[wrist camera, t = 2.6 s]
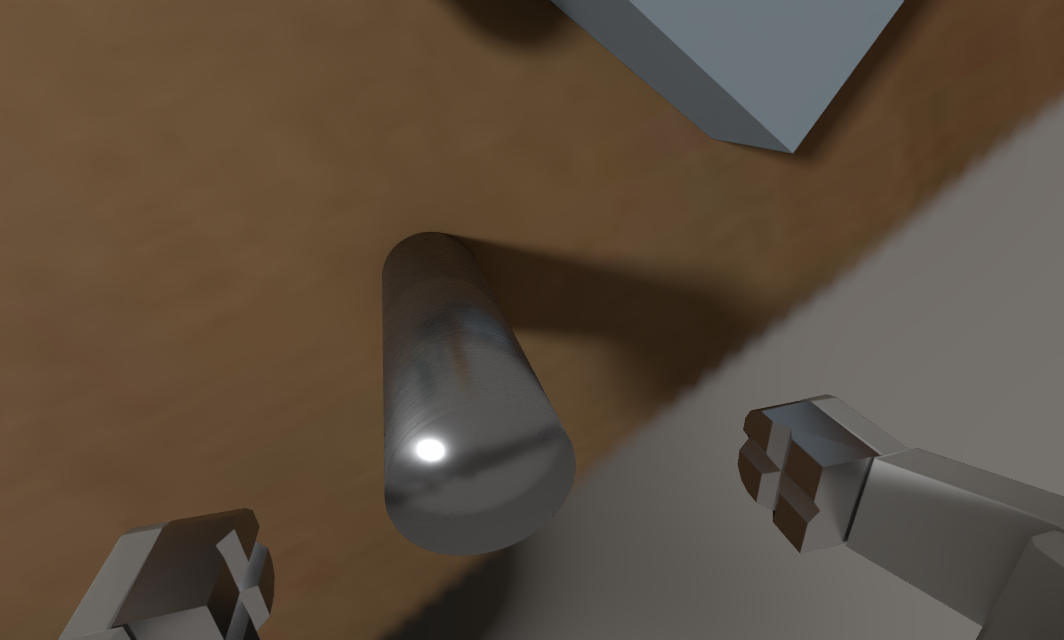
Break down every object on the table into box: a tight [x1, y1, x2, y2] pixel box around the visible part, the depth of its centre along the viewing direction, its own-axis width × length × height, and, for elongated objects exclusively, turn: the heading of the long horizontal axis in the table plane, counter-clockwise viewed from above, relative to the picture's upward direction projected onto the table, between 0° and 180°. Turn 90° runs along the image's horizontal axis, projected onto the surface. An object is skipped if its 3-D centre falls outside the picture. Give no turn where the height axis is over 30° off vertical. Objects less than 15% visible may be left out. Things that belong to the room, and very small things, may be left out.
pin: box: [382, 232, 575, 555], centre depth 13 cm, size 3×3×10 cm
